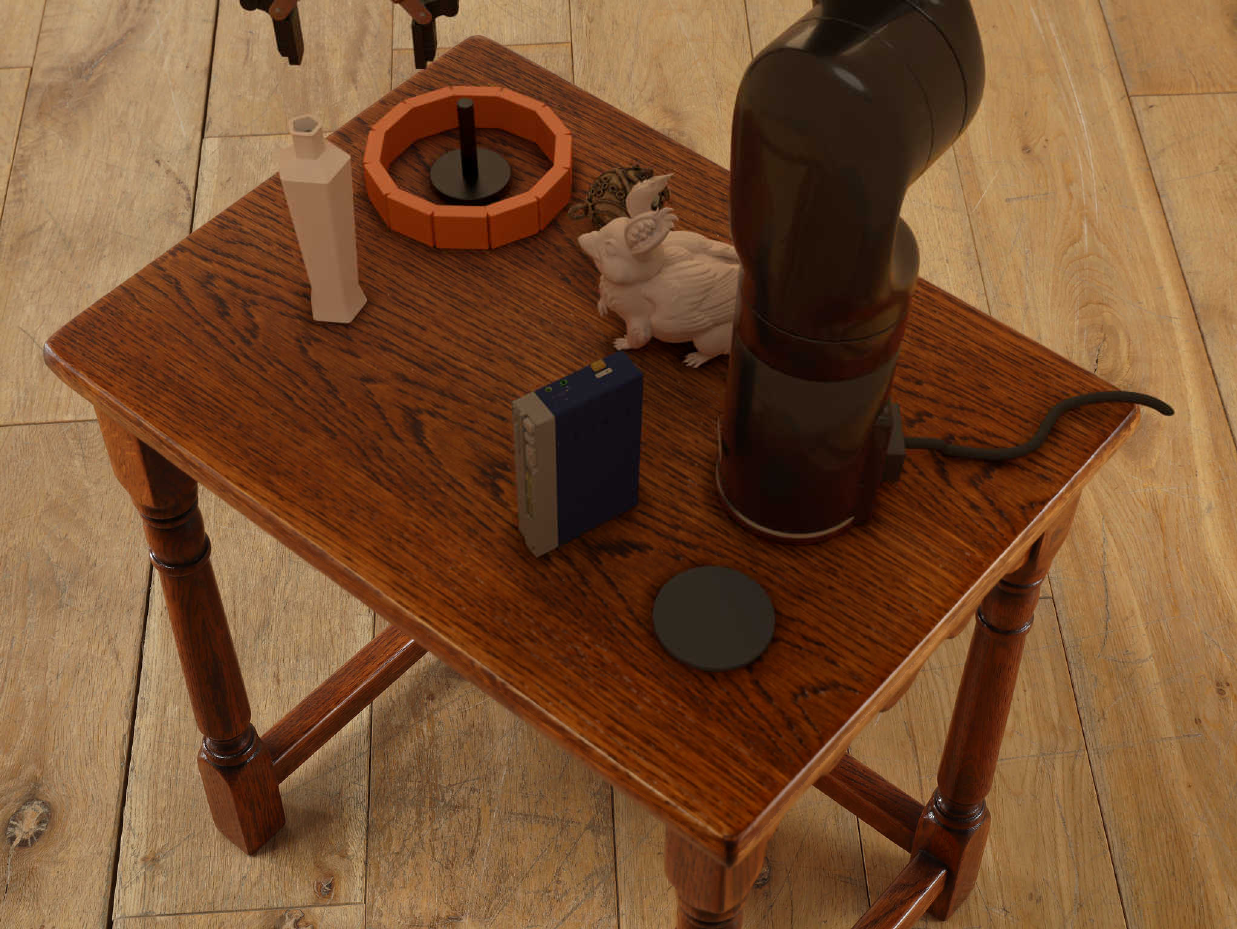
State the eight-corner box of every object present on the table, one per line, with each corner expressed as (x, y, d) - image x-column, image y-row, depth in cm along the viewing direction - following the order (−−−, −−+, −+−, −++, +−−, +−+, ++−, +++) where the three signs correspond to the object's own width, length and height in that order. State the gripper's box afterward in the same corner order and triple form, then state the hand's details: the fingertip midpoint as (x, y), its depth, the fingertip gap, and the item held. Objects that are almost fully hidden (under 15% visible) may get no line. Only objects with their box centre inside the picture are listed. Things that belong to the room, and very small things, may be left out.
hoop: (575, 120, 114) (575, 88, 111) (567, 251, 104) (567, 219, 102) (382, 115, 114) (378, 83, 111) (357, 246, 104) (352, 214, 102)
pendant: (682, 239, 105) (686, 184, 101) (582, 266, 103) (582, 211, 99) (654, 195, 108) (656, 140, 104) (556, 221, 106) (555, 166, 102)
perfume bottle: (377, 282, 102) (351, 103, 90) (364, 327, 99) (335, 148, 88) (312, 277, 102) (277, 97, 91) (297, 322, 99) (259, 142, 88)
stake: (514, 155, 111) (510, 77, 105) (509, 208, 107) (504, 130, 102) (434, 154, 111) (426, 75, 105) (426, 207, 107) (417, 128, 102)
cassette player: (618, 480, 91) (622, 344, 82) (639, 505, 90) (646, 370, 81) (515, 532, 88) (507, 398, 79) (536, 559, 87) (530, 426, 78)
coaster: (771, 570, 87) (772, 567, 87) (777, 673, 83) (778, 669, 82) (652, 568, 87) (652, 564, 87) (652, 670, 82) (652, 666, 82)
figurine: (575, 295, 101) (574, 147, 92) (791, 284, 102) (813, 137, 93) (583, 381, 96) (582, 234, 87) (811, 370, 97) (836, 223, 87)
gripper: (197, -140, 86) (246, 91, 99) (442, -133, 86) (460, 97, 99) (221, -203, 91) (265, 25, 103) (454, -196, 91) (469, 31, 103)
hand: (360, 60), depth 101 cm, fingers open, 8 cm apart
